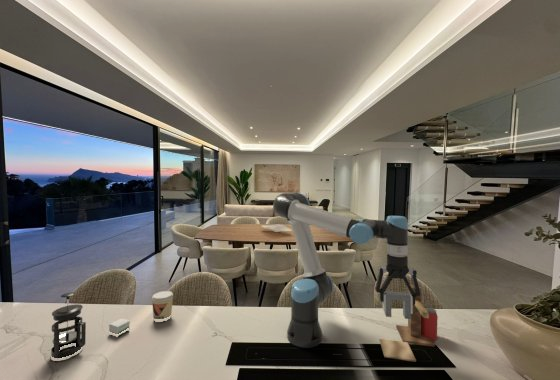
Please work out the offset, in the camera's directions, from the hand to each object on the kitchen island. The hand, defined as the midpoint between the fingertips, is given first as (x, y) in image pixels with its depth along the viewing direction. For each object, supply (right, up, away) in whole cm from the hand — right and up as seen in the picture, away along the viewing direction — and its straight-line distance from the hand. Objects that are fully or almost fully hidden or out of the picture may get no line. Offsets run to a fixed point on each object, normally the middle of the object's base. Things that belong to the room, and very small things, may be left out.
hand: (397, 310), depth 97 cm
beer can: (+18, -16, +10) cm, 26 cm away
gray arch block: (0, -2, 0) cm, 2 cm away
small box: (-118, -15, +10) cm, 119 cm away
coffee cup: (-105, -15, +22) cm, 108 cm away
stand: (+11, -16, +6) cm, 20 cm away
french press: (-129, -15, -4) cm, 130 cm away
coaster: (0, -16, 0) cm, 16 cm away
